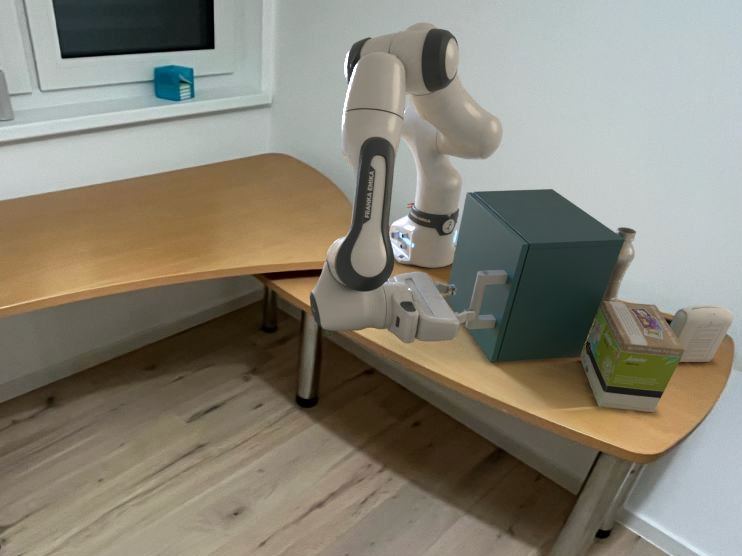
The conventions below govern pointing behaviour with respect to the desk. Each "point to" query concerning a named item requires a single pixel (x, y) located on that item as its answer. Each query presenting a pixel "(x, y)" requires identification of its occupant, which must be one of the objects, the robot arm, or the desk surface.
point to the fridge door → (486, 273)
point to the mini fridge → (553, 273)
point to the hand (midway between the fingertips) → (464, 301)
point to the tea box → (630, 356)
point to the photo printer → (701, 330)
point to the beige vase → (620, 264)
